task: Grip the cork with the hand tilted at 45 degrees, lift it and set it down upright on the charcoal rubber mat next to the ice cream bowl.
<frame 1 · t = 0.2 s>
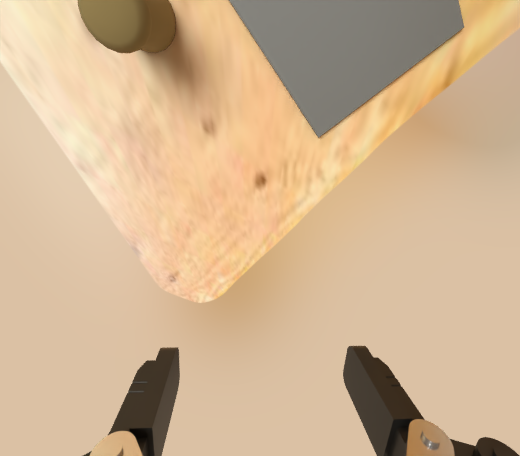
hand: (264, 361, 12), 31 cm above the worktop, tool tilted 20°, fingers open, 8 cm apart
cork: (147, 19, 28), on the worktop
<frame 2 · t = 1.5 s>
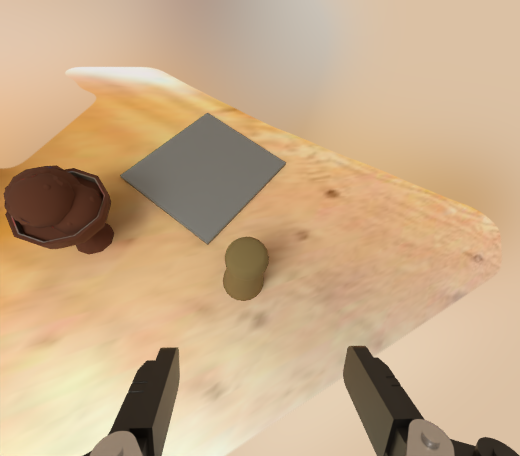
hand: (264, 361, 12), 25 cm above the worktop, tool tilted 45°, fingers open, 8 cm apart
ice cream bowl: (95, 237, 40), on the worktop
charcoal mat: (207, 170, 48), on the worktop
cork: (243, 280, 39), on the worktop
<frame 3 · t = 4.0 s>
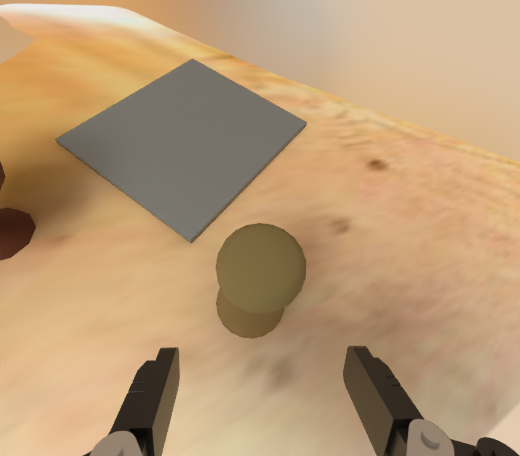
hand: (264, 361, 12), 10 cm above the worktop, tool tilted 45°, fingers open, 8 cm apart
ice cream bowl: (2, 235, 24), on the worktop
charcoal mat: (192, 133, 32), on the worktop
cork: (250, 302, 24), on the worktop
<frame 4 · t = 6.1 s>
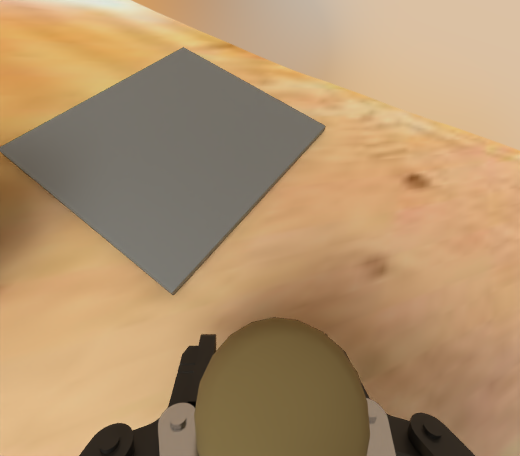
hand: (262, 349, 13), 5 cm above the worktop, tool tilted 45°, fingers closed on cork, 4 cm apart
charcoal mat: (180, 141, 25), on the worktop
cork: (255, 386, 16), on the worktop, touching gripper
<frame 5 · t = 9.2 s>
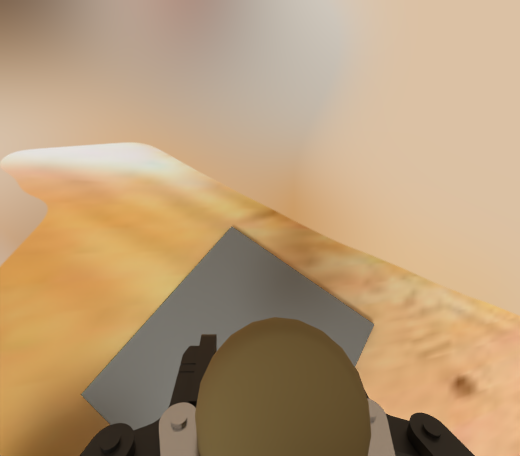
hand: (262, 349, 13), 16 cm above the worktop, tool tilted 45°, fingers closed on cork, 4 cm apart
charcoal mat: (242, 356, 27), on the worktop
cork: (258, 385, 16), point 11 cm above the worktop, touching gripper
when the fingers open (6 cm above the worktop, at t = 12.1 s): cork drops 1 cm, resting on charcoal mat.
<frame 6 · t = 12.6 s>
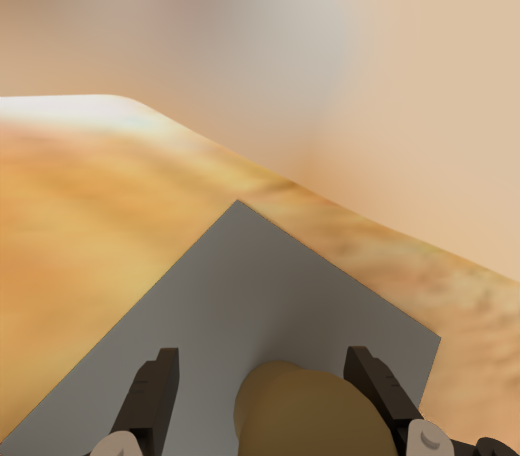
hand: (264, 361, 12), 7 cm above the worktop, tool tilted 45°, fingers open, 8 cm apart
charcoal mat: (251, 384, 18), on the worktop
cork: (280, 412, 17), point 1 cm above the worktop, touching charcoal mat, gripper
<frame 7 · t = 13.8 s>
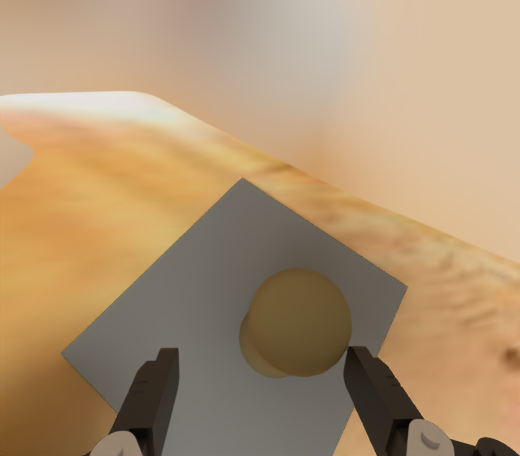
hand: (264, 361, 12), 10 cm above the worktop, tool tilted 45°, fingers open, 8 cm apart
charcoal mat: (253, 317, 23), on the worktop
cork: (275, 336, 22), resting on charcoal mat
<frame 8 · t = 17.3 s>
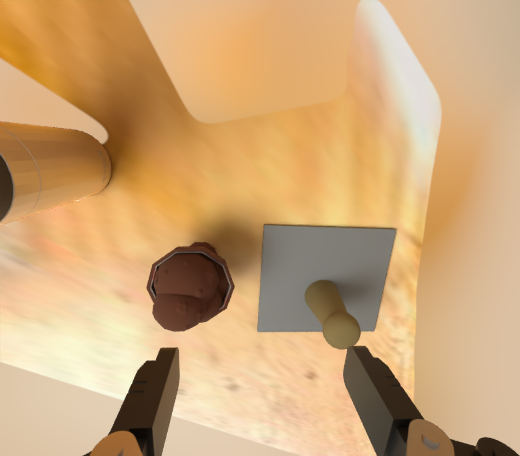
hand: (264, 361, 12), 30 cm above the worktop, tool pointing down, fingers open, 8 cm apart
ice cream bowl: (201, 257, 43), on the worktop
charcoal mat: (323, 281, 46), on the worktop
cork: (320, 294, 46), resting on charcoal mat
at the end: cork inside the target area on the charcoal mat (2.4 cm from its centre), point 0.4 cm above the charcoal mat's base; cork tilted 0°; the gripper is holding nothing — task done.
